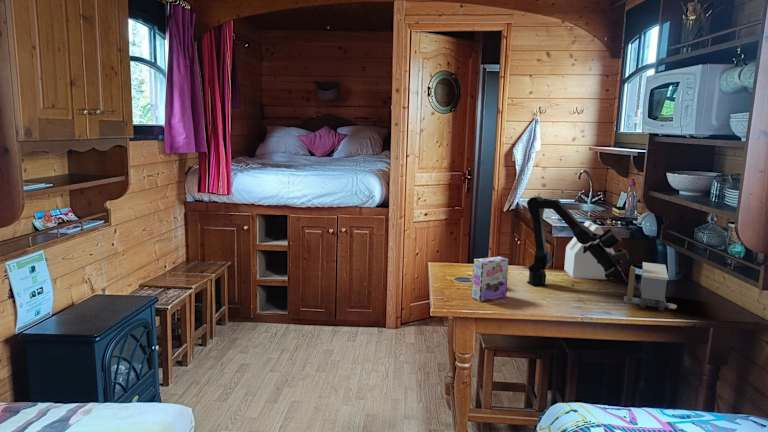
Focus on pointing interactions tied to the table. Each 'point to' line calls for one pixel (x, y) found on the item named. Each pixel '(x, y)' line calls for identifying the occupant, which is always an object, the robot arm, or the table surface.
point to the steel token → (671, 306)
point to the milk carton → (584, 258)
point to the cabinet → (653, 284)
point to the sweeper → (629, 297)
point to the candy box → (489, 278)
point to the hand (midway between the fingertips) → (627, 284)
